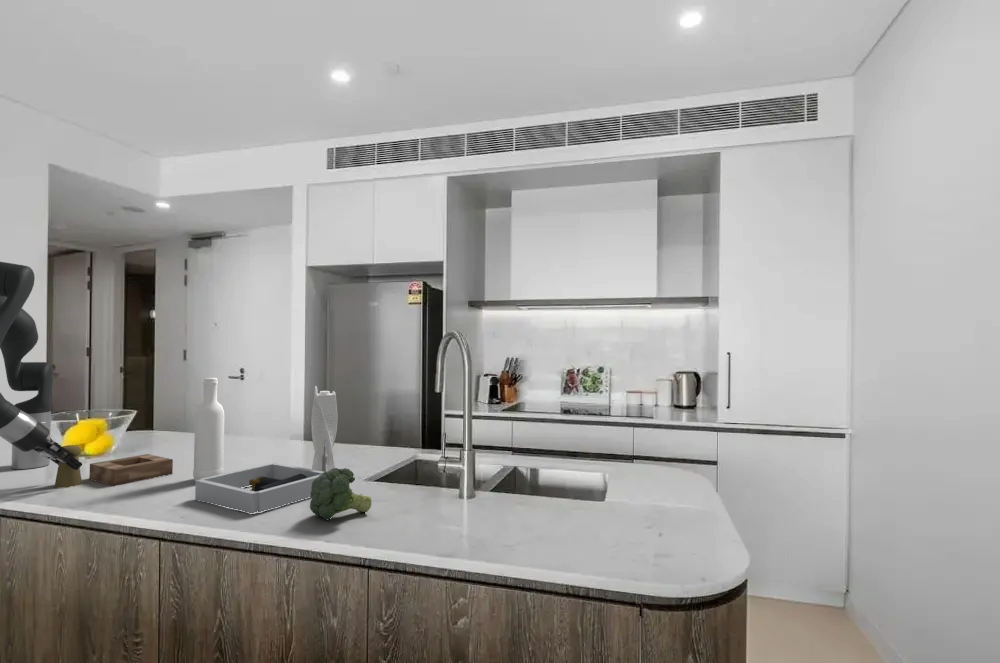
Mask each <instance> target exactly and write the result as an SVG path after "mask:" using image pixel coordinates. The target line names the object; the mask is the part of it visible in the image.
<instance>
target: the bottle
mask: <svg viewBox="0 0 1000 663" xmlns="http://www.w3.org/2000/svg"><path fill="white" fill-rule="evenodd" d="M218 380H219V379H218V377H205V378H203V382H202V384H203V398H202V400H203V401H202V402H201V403H200V404H198V406H197V409H196V411H195V414H194V443H193V470H192V471H193V472H192V473H193V474H192V476H193V482H195V483H196V480H200V479H202V478H206V477H211V476H215V475H220V474H224V473H225V472H224V468H225V467H224V455H225V454H224V453H225V452H224V450H225V448H224V447H225V410H224V407H223V405H222V404H221V403H220V402H219V401H218V385H219V381H218Z"/></svg>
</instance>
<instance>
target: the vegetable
mask: <svg viewBox="0 0 1000 663" xmlns="http://www.w3.org/2000/svg"><path fill="white" fill-rule="evenodd" d="M355 481H356V477H354V472H353V471H352V470H351V469H349V468H337V467H335V468H332V469H331V470H330V471H326V472H323V473H322V474H321V475H320V476H319V477H317V478H316V479H315V480H314V481H313V482H312V487H311V489H312V490H311V493H310V494H311V498H310V499H311V500H310V503H309V509H310V511H311V512H312V514H314V515H315V516H317V517H320V516H321V517H322V518H324V519H325V518H326V519H330V518H331V517H332V518H333V517H334V516H335V515H337V514H340V513H343V512H345V511H348V510H351V509H352V510H356V511H361V512H360V513H363V512H366V513H367V512H368V511H369V510H370V509H371V507H372V497H371V496H369V495H364V494H363V493H360V494H358V493H355V492H354V491H353V489H352V488H350V484H352V483H353V482H355ZM326 519H325V520H326Z"/></svg>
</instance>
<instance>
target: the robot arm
mask: <svg viewBox="0 0 1000 663" xmlns="http://www.w3.org/2000/svg"><path fill="white" fill-rule="evenodd" d="M35 276H36V275H35V273H34V270H33V269H32V267H30V266H27V265H23V264H17V263H11V262H5V261H0V351H1V355H2V358H3V363H4V369H5V375H6V381H7V383H8V386H9V388H10V389H11V390H12V391H15V392H37V395H36V396H34V397H32V398H29V399H27V400H24V401H21V402H16V403H15V404H13V403H11V401H9V400H7V399H6V398H5V396H3V394H2V392H0V437H1V438H2V439H3V440H5V441H7V442H8V443H9V444H11V463H10V464H11V466H10V467H11V469H13V470H27V469H29V470H30V469H37V468H41V467H42V468H43V467H46V466H49V465H50V461H52V462H53V463H54V464H57V466H58V465H59V460H60V461H62V463H65V464H67V465H68V466H69V467H71V468H72V469H74V470H78V469H79V468H80V469H81V467H82V466H83V462H81V461H80V460H79V461H78V460H77V459H75V458H74V457H73V456H74V455H73V453H70V452H69V451H68V450H66V449H65V448H63V446H62V445H61V444H59V443H58V442H56V441H54V440H53V439H51V430H52V429H51V426H52V425H51V423H52V419H51V418H52V396H53V395H52V394H53V382H54V367H53V365H52V363H50V362H49V361H48V362H47V361H32V362H31V361H30V362H29V361H24V362H23V361H22V360H23V358H24V357H25V356H27V354H28V353H30V352H31V351H32V350H33V349H34V348H35V346H36V345H37V344H38V341H39V333H38V329H37V324H36V321H35V320H34V318H33V316H31V314H29V313H28V312H27V311H26V310H24V309H23V307H24V305H25V303H26V302H27V300H28V299H29V297H30V295H31V293H32V291H33V288H34V286H35ZM62 454H66V455H67V456H65V457H64V458H63V457H61V455H62Z"/></svg>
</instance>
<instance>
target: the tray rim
mask: <svg viewBox="0 0 1000 663" xmlns="http://www.w3.org/2000/svg"><path fill="white" fill-rule="evenodd" d="M322 473H323V471H317V470H312V468H306V467H301V466H296V465H295V466H294V465H291V464H290V465H289V464H285V463H278V462H274V463H265V464H260V465H256V466H252V467H248V468H244V469H243V468H242V469H238V470H234V471H230V472H226V473H225V472H223V474H220V475H215V476H211V477H206V478H202V479H200V480H196V482H195V491H194V492H195V493H194V494H195V497H194V500H195V499H196V500H200V501H204V502H209V503H213V504H217V505H221V506H225V507H229V508H233V509H238V510H242V511H245V512H249V513H254V512H257V511H258V512H261V511H264V510H268V509H271V508H275V507H278V506H282V505H284V504H288V503H291V502H295V501H298V500H301V499H305V498H308V497H311V494H310V493H311V490H312V489H311V487H312V482H313V481H314V480H315V479H316V478H317V477H319V476H320V475H321V474H322ZM298 474H304V475H305V476H306V477H307V478H306V479H302V480H298V481H294V482H291V483H287V484H283V485H280V486H276V487H272V488H268V489H265V490H261V491H257V492H255V491H250V490H251V489H247V488H244V489H242V488H241V487H245V486H249V480H251V479H257V477H260V476H264V477H268V478H273V479H280V480H283V479H286V478H289V477H292V476H295V475H298ZM196 500H195V501H196ZM200 501H199V502H200ZM204 502H203V503H204Z"/></svg>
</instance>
